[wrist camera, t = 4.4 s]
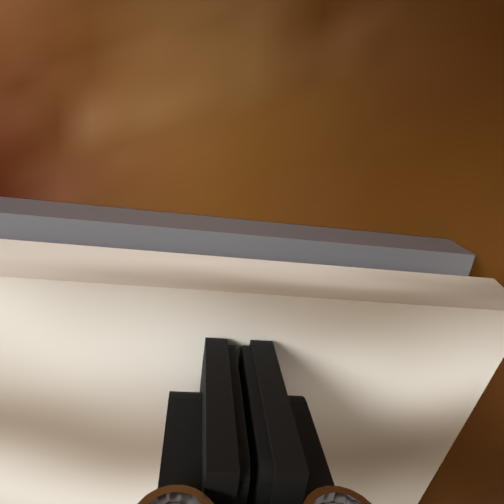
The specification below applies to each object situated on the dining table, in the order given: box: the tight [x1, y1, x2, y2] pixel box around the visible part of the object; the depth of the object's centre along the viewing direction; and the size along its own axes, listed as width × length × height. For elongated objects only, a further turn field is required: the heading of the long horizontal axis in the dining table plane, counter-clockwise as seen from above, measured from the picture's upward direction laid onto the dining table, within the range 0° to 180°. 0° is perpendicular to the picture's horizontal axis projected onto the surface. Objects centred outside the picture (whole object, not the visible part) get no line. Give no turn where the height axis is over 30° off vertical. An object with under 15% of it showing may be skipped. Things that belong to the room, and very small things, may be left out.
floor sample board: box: [0, 197, 475, 276], centre depth 15 cm, size 16×16×3 cm
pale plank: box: [0, 239, 504, 504], centre depth 12 cm, size 10×15×2 cm, turn 82°
